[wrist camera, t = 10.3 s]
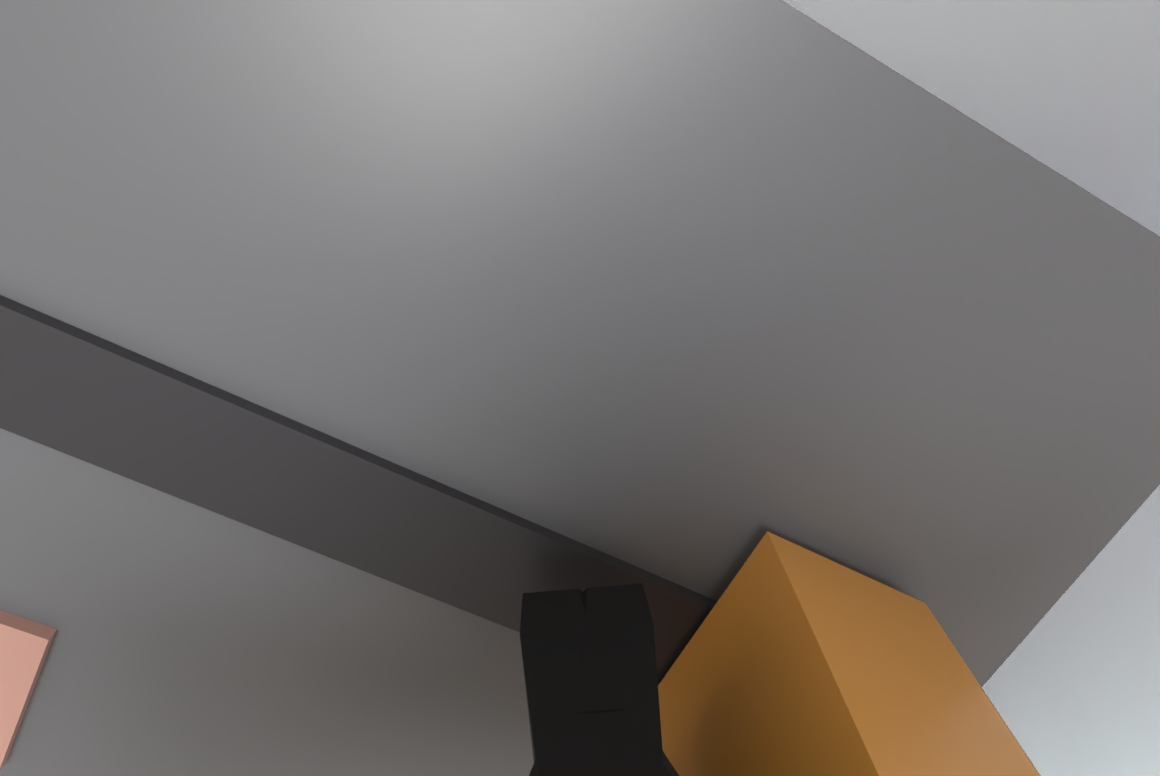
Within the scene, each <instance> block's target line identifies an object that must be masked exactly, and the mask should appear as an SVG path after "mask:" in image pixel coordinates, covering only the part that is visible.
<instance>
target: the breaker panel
mask: <svg viewBox="0 0 1160 776" xmlns="http://www.w3.org/2000/svg"><path fill="white" fill-rule="evenodd" d="M1159 484H1160V237H1159V236H1158V235H1156V234H1155V233H1153V232H1151V231H1150V230H1148V229H1147V228H1145V227H1143V226H1142V225H1140V224H1139V223H1137V222H1135V221H1134V220H1132V219H1131V218H1129V217H1127V216H1126V215H1124V214H1123V213H1121V212H1119V211H1118V210H1116V209H1115V208H1113V207H1111V206H1110V205H1108V204H1107V203H1105V202H1103V201H1102V200H1100V199H1099V198H1097V197H1095V196H1094V195H1092V194H1091V193H1089V192H1087V191H1086V190H1084V189H1083V188H1081V187H1079V186H1078V185H1076V184H1075V183H1073V182H1071V181H1070V180H1068V179H1067V178H1065V177H1063V176H1062V175H1060V174H1059V173H1057V172H1055V171H1054V170H1052V169H1051V168H1049V167H1047V166H1046V165H1044V164H1043V163H1041V162H1039V161H1038V160H1036V159H1035V158H1033V157H1031V156H1030V155H1028V154H1027V153H1025V152H1023V151H1022V150H1020V149H1019V148H1017V147H1016V146H1014V145H1012V144H1011V143H1009V142H1008V141H1006V140H1004V139H1003V138H1001V137H1000V136H998V135H996V134H995V133H993V132H992V131H990V130H988V129H987V128H985V127H984V126H982V125H980V124H979V123H977V122H976V121H974V120H972V119H971V118H969V117H968V116H966V115H964V114H963V113H961V112H960V111H958V110H956V109H955V108H953V107H952V106H950V105H948V104H947V103H945V102H944V101H942V100H940V99H939V98H937V97H936V96H934V95H932V94H931V93H929V92H928V91H926V90H924V89H923V88H921V87H920V86H918V85H916V84H915V83H913V82H912V81H910V80H908V79H907V78H905V77H904V76H902V75H900V74H899V73H897V72H896V71H894V70H892V69H891V68H889V67H888V66H886V65H884V64H883V63H881V62H880V61H878V60H876V59H875V58H873V57H872V56H870V55H868V54H867V53H865V52H864V51H862V50H860V49H859V48H857V47H856V46H854V45H852V44H851V43H849V42H848V41H846V40H844V39H843V38H841V37H840V36H838V35H836V34H835V33H833V32H832V31H830V30H828V29H827V28H825V27H824V26H822V25H820V24H819V23H817V22H816V21H814V20H812V19H811V18H809V17H808V16H806V15H804V14H803V13H801V12H800V11H798V10H796V9H795V8H793V7H792V6H790V5H788V4H787V3H785V2H784V1H782V0H0V776H529V774H530V772H531V769H532V767H533V764H534V758H533V749H532V740H531V731H530V722H529V713H528V704H527V695H526V686H525V677H524V668H523V659H522V650H521V641H520V622H521V608H522V597H523V593H532V592H544V591H556V590H568V589H579V590H581V591H582V592H583V591H585V590H586V589H587V588H592V587H604V586H616V585H628V584H640V583H642V585H643V588H644V592H645V595H646V598H647V601H648V605H649V609H650V612H651V616H652V620H653V624H654V638H655V652H656V665H657V680H658V685H659V684H660V682H661V681H662V679H663V678H664V677H665V675H666V674H667V672H668V671H669V670H670V668H671V667H672V665H673V664H674V662H675V661H676V660H677V658H678V657H679V655H680V654H681V653H682V651H683V650H684V648H685V647H686V645H687V644H688V643H689V641H690V640H691V638H692V637H693V636H694V634H695V633H696V631H697V630H698V628H699V627H700V626H701V624H702V623H703V621H704V620H705V619H706V617H707V616H708V614H709V613H710V612H711V610H712V609H713V607H714V606H715V604H716V603H717V602H718V600H719V599H720V597H721V596H722V595H723V593H724V592H725V590H726V589H727V587H728V586H729V585H730V583H731V582H732V580H733V579H734V578H735V576H736V575H737V573H738V572H739V570H740V569H741V568H742V566H743V565H744V563H745V562H746V561H747V559H748V558H749V556H750V555H751V554H752V552H753V551H754V549H755V548H756V546H757V545H758V544H759V542H760V541H761V539H762V538H763V537H764V535H765V534H766V532H767V531H768V532H770V533H772V534H775V535H777V536H779V537H781V538H783V539H786V540H788V541H790V542H792V543H794V544H797V545H799V546H801V547H803V548H805V549H808V550H810V551H812V552H814V553H816V554H818V555H821V556H823V557H825V558H827V559H829V560H832V561H834V562H836V563H838V564H840V565H843V566H845V567H847V568H849V569H851V570H854V571H856V572H858V573H860V574H862V575H865V576H867V577H869V578H871V579H873V580H876V581H878V582H880V583H882V584H884V585H887V586H889V587H891V588H893V589H895V590H897V591H900V592H902V593H904V594H906V595H908V596H911V597H913V598H915V599H917V600H919V601H922V602H924V603H926V605H927V606H928V608H929V609H930V611H931V612H932V614H933V615H934V617H935V618H936V620H937V621H938V623H939V624H940V626H941V627H942V629H943V630H944V632H945V633H946V635H947V636H948V638H949V639H950V641H951V642H952V644H953V645H954V647H955V648H956V650H957V651H958V653H959V654H960V656H961V657H962V659H963V660H964V662H965V663H966V665H967V666H968V668H969V669H970V671H971V672H972V674H973V675H974V677H975V678H976V680H977V681H978V683H979V684H980V686H981V687H982V686H983V685H984V684H985V683H986V682H987V680H988V679H989V678H990V677H991V676H992V675H993V674H994V672H995V671H996V670H997V669H998V668H999V667H1000V666H1001V664H1002V663H1003V662H1004V661H1005V660H1006V659H1007V658H1008V657H1009V655H1010V654H1011V653H1012V652H1013V651H1014V650H1015V649H1016V647H1017V646H1018V645H1019V644H1020V643H1021V642H1022V641H1023V639H1024V638H1025V637H1026V636H1027V635H1028V634H1029V633H1030V631H1031V630H1032V629H1033V628H1034V627H1035V626H1036V625H1037V623H1038V622H1039V621H1040V620H1041V619H1042V618H1043V617H1044V615H1045V614H1046V613H1047V612H1048V611H1049V610H1050V609H1051V607H1052V606H1053V605H1054V604H1055V603H1056V602H1057V601H1058V599H1059V598H1060V597H1061V596H1062V595H1063V594H1064V593H1065V591H1066V590H1067V589H1068V588H1069V587H1070V586H1071V585H1072V583H1073V582H1074V581H1075V580H1076V579H1077V578H1078V577H1079V575H1080V574H1081V573H1082V572H1083V571H1084V570H1085V569H1086V567H1087V566H1088V565H1089V564H1090V563H1091V562H1092V561H1093V559H1094V558H1095V557H1096V556H1097V555H1098V554H1099V553H1100V551H1101V550H1102V549H1103V548H1104V547H1105V546H1106V545H1107V543H1108V542H1109V541H1110V540H1111V539H1112V538H1113V537H1114V536H1115V534H1116V533H1117V532H1118V531H1119V530H1120V529H1121V528H1122V526H1123V525H1124V524H1125V523H1126V522H1127V521H1128V520H1129V518H1130V517H1131V516H1132V515H1133V514H1134V513H1135V512H1136V510H1137V509H1138V508H1139V507H1140V506H1141V505H1142V504H1143V502H1144V501H1145V500H1146V499H1147V498H1148V497H1149V496H1150V494H1151V493H1152V492H1153V491H1154V490H1155V489H1156V488H1157V486H1158V485H1159Z"/></svg>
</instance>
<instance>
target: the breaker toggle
mask: <svg viewBox="0 0 1160 776" xmlns="http://www.w3.org/2000/svg"><path fill="white" fill-rule="evenodd" d="M658 694H659V708H660V722H661V736H662V750H663V752H664V753H665V755H666V756H667V758H668V760H669V761H670V763H671V764H672V766H673V767H674V769H675V770H676V771H677V773H678V774H679V776H1040V774H1039V773H1038V771H1037V770H1036V768H1035V767H1034V765H1033V764H1032V762H1031V761H1030V759H1029V758H1028V756H1027V755H1026V753H1025V752H1024V750H1023V749H1022V747H1021V746H1020V744H1019V743H1018V741H1017V740H1016V738H1015V737H1014V735H1013V734H1012V732H1011V731H1010V729H1009V728H1008V726H1007V725H1006V723H1005V722H1004V720H1003V719H1002V717H1001V716H1000V714H999V713H998V711H997V710H996V708H995V707H994V705H993V704H992V702H991V701H990V699H989V698H988V696H987V695H986V693H985V692H984V690H983V689H982V687H981V686H980V684H979V683H978V681H977V680H976V678H975V677H974V675H973V674H972V672H971V671H970V669H969V668H968V666H967V665H966V663H965V662H964V660H963V659H962V657H961V656H960V654H959V653H958V651H957V650H956V648H955V647H954V645H953V644H952V642H951V641H950V639H949V638H948V636H947V635H946V633H945V632H944V630H943V629H942V627H941V626H940V624H939V623H938V621H937V620H936V618H935V617H934V615H933V614H932V612H931V611H930V609H929V608H928V606H927V605H926V603H924V602H922V601H919V600H917V599H915V598H913V597H911V596H908V595H906V594H904V593H902V592H900V591H897V590H895V589H893V588H891V587H889V586H887V585H884V584H882V583H880V582H878V581H876V580H873V579H871V578H869V577H867V576H865V575H862V574H860V573H858V572H856V571H854V570H851V569H849V568H847V567H845V566H843V565H840V564H838V563H836V562H834V561H832V560H829V559H827V558H825V557H823V556H821V555H818V554H816V553H814V552H812V551H810V550H808V549H805V548H803V547H801V546H799V545H797V544H794V543H792V542H790V541H788V540H786V539H783V538H781V537H779V536H777V535H775V534H772V533H770V532H768V531H767V532H766V534H765V535H764V537H763V538H762V539H761V541H760V542H759V544H758V545H757V546H756V548H755V549H754V551H753V552H752V554H751V555H750V556H749V558H748V559H747V561H746V562H745V563H744V565H743V566H742V568H741V569H740V570H739V572H738V573H737V575H736V576H735V578H734V579H733V580H732V582H731V583H730V585H729V586H728V587H727V589H726V590H725V592H724V593H723V595H722V596H721V597H720V599H719V600H718V602H717V603H716V604H715V606H714V607H713V609H712V610H711V612H710V613H709V614H708V616H707V617H706V619H705V620H704V621H703V623H702V624H701V626H700V627H699V628H698V630H697V631H696V633H695V634H694V636H693V637H692V638H691V640H690V641H689V643H688V644H687V645H686V647H685V648H684V650H683V651H682V653H681V654H680V655H679V657H678V658H677V660H676V661H675V662H674V664H673V665H672V667H671V668H670V670H669V671H668V672H667V674H666V675H665V677H664V678H663V679H662V681H661V682H660V684H659V685H658Z"/></svg>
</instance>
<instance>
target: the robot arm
mask: <svg viewBox="0 0 1160 776" xmlns="http://www.w3.org/2000/svg"><path fill="white" fill-rule="evenodd" d="M520 641H521V650H522V659H523V668H524V677H525V686H526V695H527V704H528V713H529V722H530V731H531V740H532V749H533V758H534V764H533V767H532V769H531V772H530V774H529V776H679V774H678V773H677V771H676V770H675V769H674V767H673V766H672V764H671V763H670V761H669V760H668V758H667V756H666V755H665V753H664V752H663V750H662V736H661V722H660V708H659V694H658V680H657V665H656V652H655V638H654V624H653V620H652V616H651V612H650V609H649V605H648V601H647V598H646V595H645V592H644V588H643V585H642V583H640V584H628V585H616V586H604V587H592V588H587V589H586V590H585V591H583V592H582V591H581V590H579V589H568V590H556V591H544V592H532V593H523V597H522V608H521V622H520Z"/></svg>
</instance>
